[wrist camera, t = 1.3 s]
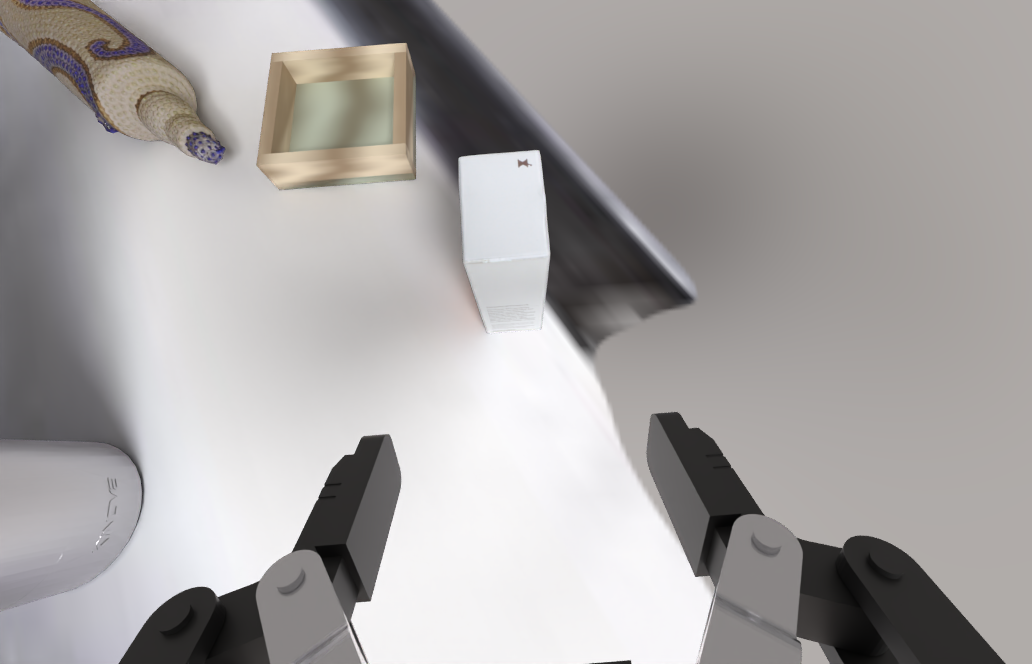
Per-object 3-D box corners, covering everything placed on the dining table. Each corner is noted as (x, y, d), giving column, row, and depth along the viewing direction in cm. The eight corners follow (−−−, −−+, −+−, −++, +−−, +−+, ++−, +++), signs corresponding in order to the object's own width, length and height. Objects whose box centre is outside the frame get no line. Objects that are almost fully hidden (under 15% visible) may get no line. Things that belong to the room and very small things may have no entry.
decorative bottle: (42, 66, 38) (-54, -11, 32) (110, 23, 40) (32, -59, 34) (202, 215, 33) (126, 157, 27) (273, 157, 35) (217, 90, 28)
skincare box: (481, 262, 31) (456, 151, 20) (535, 258, 31) (542, 145, 20) (485, 337, 29) (460, 262, 18) (542, 332, 29) (554, 255, 18)
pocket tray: (279, 189, 34) (256, 165, 31) (291, 84, 37) (271, 53, 34) (415, 179, 34) (405, 153, 31) (415, 74, 37) (406, 42, 34)
